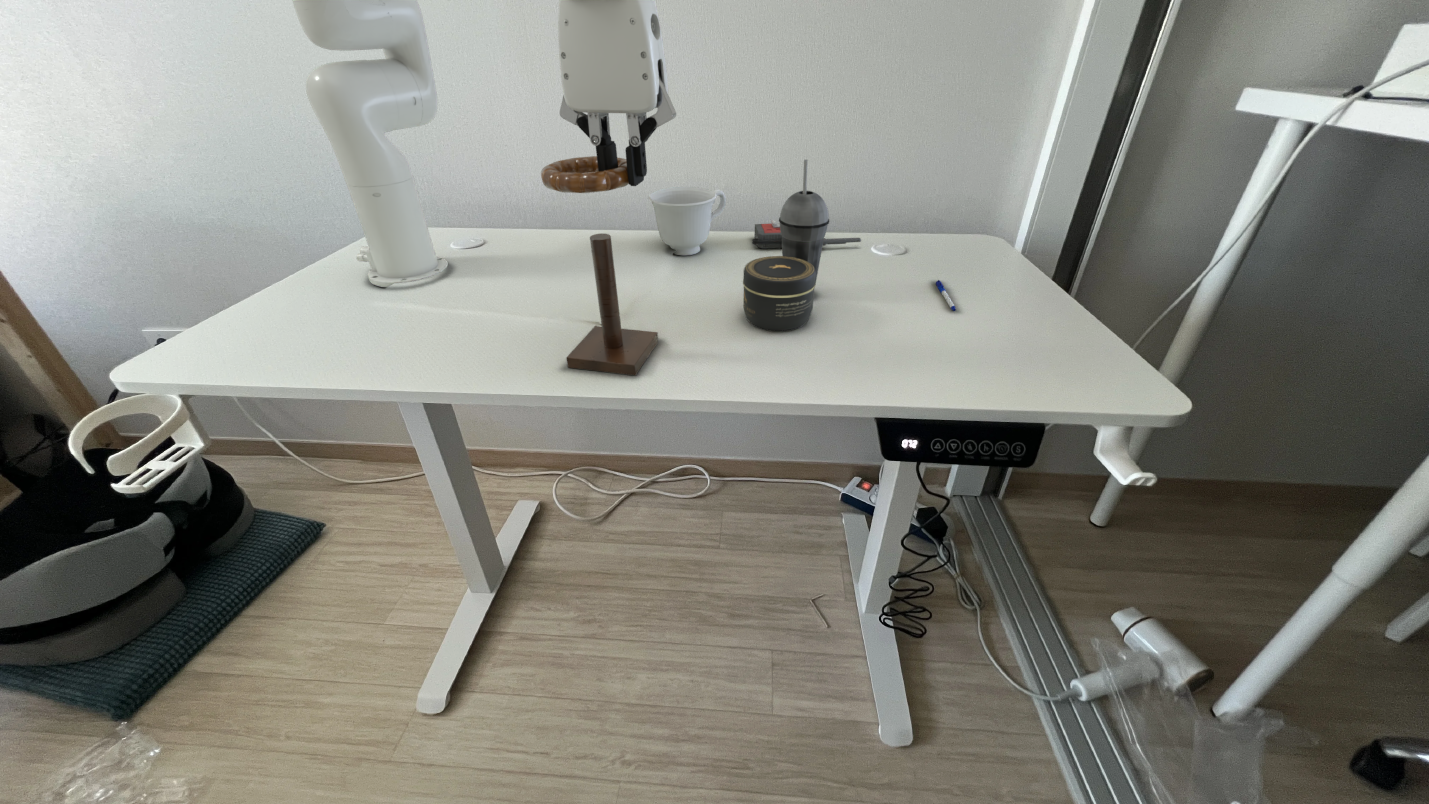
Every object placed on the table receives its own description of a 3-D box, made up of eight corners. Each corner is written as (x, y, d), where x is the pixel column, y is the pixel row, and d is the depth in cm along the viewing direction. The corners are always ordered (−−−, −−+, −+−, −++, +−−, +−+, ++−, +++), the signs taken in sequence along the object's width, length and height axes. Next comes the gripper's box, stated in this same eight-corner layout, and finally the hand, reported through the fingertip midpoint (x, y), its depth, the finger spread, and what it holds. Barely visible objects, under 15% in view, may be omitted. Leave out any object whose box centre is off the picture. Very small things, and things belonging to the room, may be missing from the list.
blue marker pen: (933, 284, 94) (934, 278, 94) (938, 284, 94) (940, 278, 94) (951, 312, 86) (953, 306, 85) (958, 312, 86) (959, 306, 85)
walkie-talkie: (753, 253, 107) (861, 249, 108) (754, 229, 104) (864, 225, 105) (747, 238, 114) (848, 234, 115) (748, 215, 112) (851, 211, 113)
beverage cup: (827, 289, 93) (841, 155, 82) (814, 307, 87) (827, 165, 76) (784, 282, 95) (791, 151, 84) (768, 299, 90) (774, 161, 79)
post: (567, 367, 73) (546, 247, 65) (596, 335, 81) (580, 222, 72) (635, 375, 72) (622, 252, 63) (658, 341, 79) (650, 227, 70)
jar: (732, 309, 87) (733, 259, 83) (794, 299, 90) (797, 251, 85) (757, 338, 79) (759, 285, 75) (824, 327, 82) (829, 275, 77)
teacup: (742, 250, 108) (743, 194, 103) (672, 266, 102) (668, 208, 96) (708, 233, 117) (707, 181, 111) (641, 247, 110) (636, 192, 105)
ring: (526, 193, 63) (522, 173, 62) (567, 171, 71) (564, 153, 70) (617, 196, 61) (615, 176, 60) (649, 173, 69) (647, 155, 68)
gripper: (697, -23, 56) (702, 177, 66) (544, -18, 59) (571, 172, 70) (674, -27, 50) (684, 194, 60) (505, -21, 53) (542, 188, 64)
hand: (623, 181), depth 65 cm, fingers closed on ring, 2 cm apart
